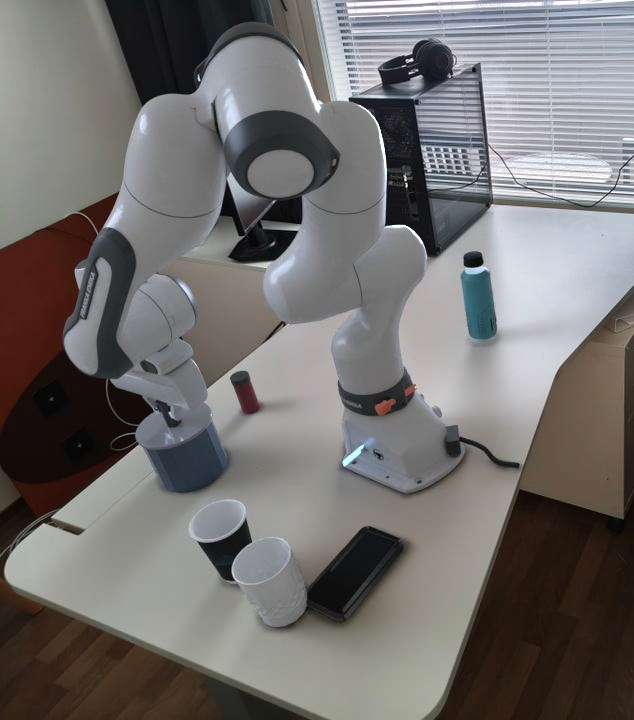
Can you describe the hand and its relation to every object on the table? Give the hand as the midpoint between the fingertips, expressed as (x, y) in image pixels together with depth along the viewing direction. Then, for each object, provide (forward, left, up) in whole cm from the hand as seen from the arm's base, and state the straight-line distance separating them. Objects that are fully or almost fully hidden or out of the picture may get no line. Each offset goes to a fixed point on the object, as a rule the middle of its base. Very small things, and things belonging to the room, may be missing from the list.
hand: (170, 415), depth 117 cm
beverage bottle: (-12, -62, -12) cm, 64 cm away
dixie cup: (-28, +6, -12) cm, 31 cm away
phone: (-42, -5, -12) cm, 44 cm away
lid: (0, 0, -2) cm, 2 cm away
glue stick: (+8, -16, -12) cm, 22 cm away
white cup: (-39, +5, -12) cm, 41 cm away
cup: (0, 0, -12) cm, 12 cm away
